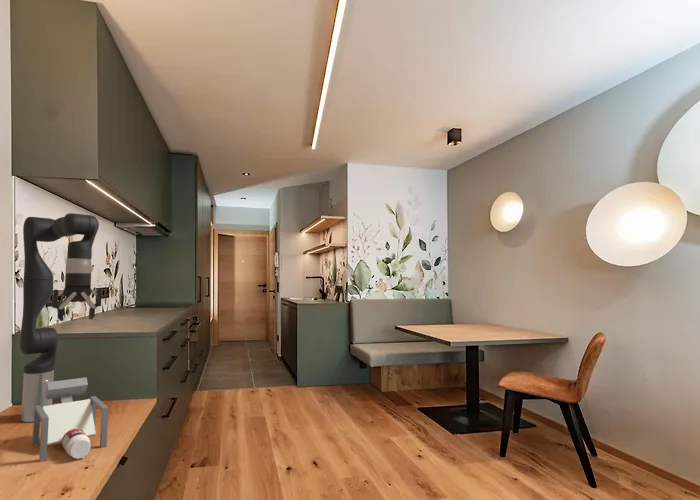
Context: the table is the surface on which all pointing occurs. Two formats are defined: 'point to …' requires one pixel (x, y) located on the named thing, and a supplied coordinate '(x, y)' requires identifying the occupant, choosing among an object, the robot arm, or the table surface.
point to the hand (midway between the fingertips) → (76, 320)
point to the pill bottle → (76, 443)
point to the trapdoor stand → (41, 414)
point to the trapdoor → (68, 409)
